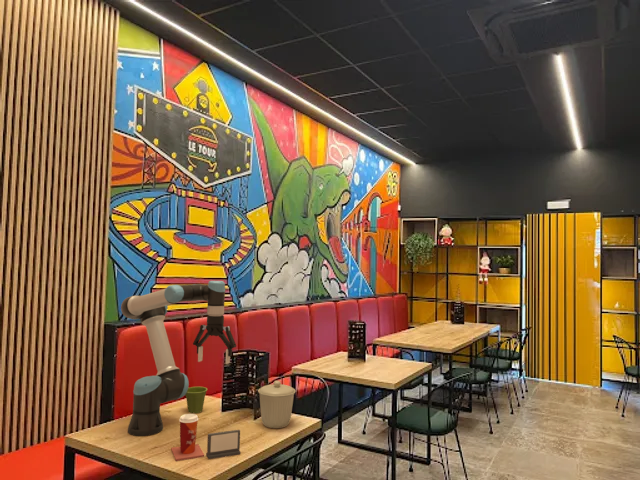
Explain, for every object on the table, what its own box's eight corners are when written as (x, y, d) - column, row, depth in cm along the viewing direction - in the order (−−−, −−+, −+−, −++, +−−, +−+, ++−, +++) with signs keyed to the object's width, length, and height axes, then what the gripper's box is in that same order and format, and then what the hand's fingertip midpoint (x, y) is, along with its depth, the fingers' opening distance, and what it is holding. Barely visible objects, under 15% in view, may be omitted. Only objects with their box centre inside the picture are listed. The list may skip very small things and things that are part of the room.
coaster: (171, 449, 193) (171, 447, 193) (198, 445, 198) (198, 443, 198) (175, 461, 182) (175, 459, 182) (204, 456, 187) (204, 454, 187)
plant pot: (190, 406, 250) (191, 385, 250) (210, 409, 246) (211, 387, 247) (178, 413, 238) (179, 391, 239) (199, 416, 235) (200, 393, 236)
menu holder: (206, 455, 188) (207, 432, 189) (237, 450, 194) (238, 428, 194) (208, 459, 185) (209, 436, 185) (240, 454, 190) (241, 431, 191)
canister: (275, 416, 238) (277, 374, 239) (302, 424, 227) (303, 380, 228) (249, 425, 224) (250, 380, 225) (275, 434, 213) (277, 387, 214)
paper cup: (191, 456, 185) (193, 420, 186) (174, 453, 187) (175, 418, 188) (200, 448, 193) (202, 414, 194) (183, 446, 195) (185, 412, 195)
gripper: (244, 315, 212) (242, 362, 211) (194, 312, 218) (193, 358, 217) (237, 317, 205) (235, 366, 204) (186, 314, 211) (184, 361, 210)
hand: (213, 362), depth 211 cm, fingers open, 13 cm apart
